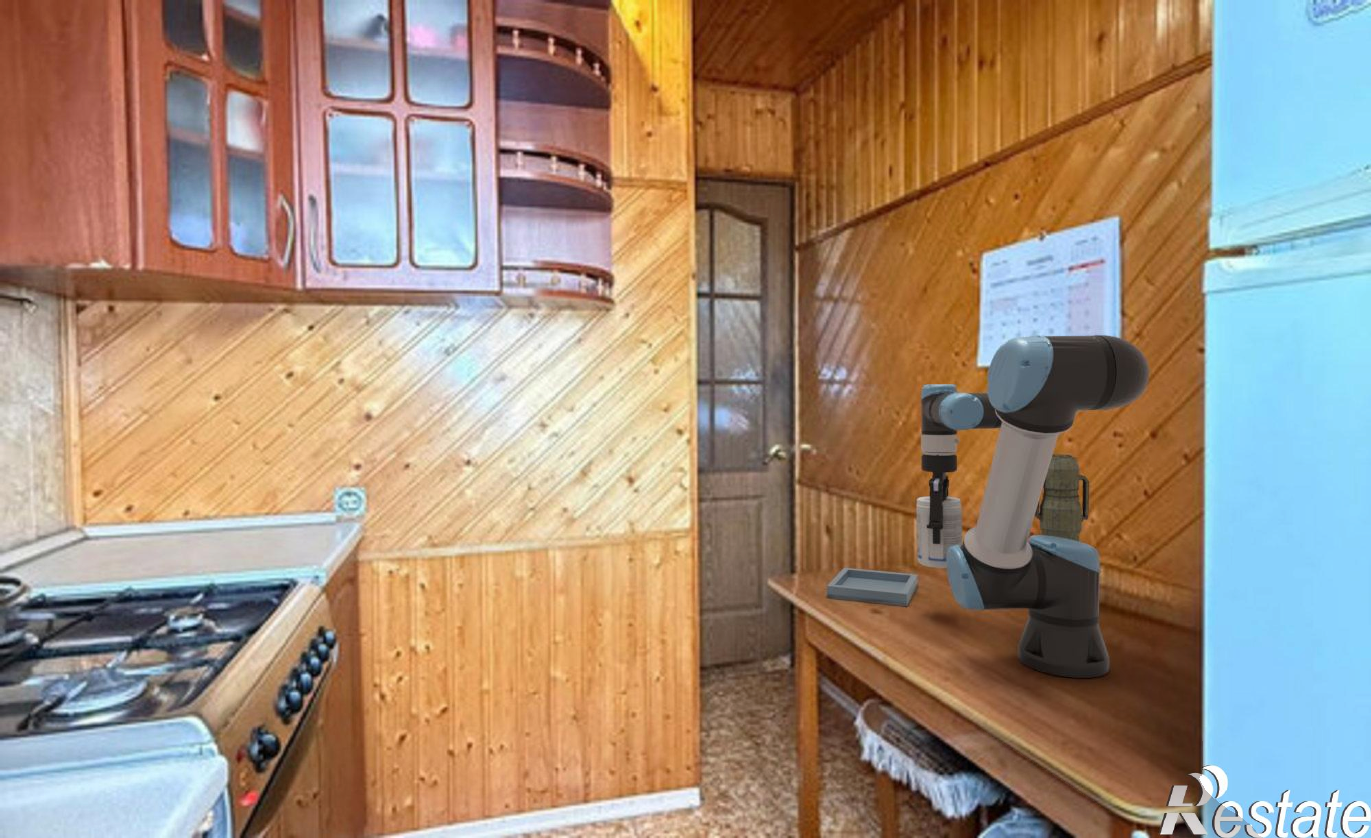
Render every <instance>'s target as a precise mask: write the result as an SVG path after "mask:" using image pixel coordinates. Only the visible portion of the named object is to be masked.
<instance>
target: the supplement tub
mask: <svg viewBox="0 0 1371 838" xmlns="http://www.w3.org/2000/svg"><path fill="white" fill-rule="evenodd" d="M961 501H962V500H961V499H960V498H958V497H955V496H954V497H953V496H952V497H951V496H948V497H946V500H944V501H943V502H942V505H943V528H942V529H944V558H943V559H935V558H930V529H929V528H927V525H929V516H930V496H921V497H918V498H917V499H916V505H915V506H916V547H917V549H916V551H917V557H916V558H917V561H918V563H919V565H922V566H924V567H927V568H938V569H947V562H946V559H947V551H948V549H949V548H950V547H952V546H955V545H958V546H962V545H963V522H962V521H963V516H962V515H963V512H962V510H963V509H962V503H961ZM934 522H939V521H934Z"/></svg>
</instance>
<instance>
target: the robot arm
mask: <svg viewBox="0 0 1371 838" xmlns="http://www.w3.org/2000/svg"><path fill="white" fill-rule="evenodd" d="M986 377H987V378H986V381H987V383H988V385H987V386H986V390H987V392H958V388H957V385H955V384H953V383H950V384H949V383H948V384H947V383H945V384H941V383H940V384H937V383H936V384H934V383H933V384H925V385H923V386H922V387H921V388H922V389H921V396H920V397H921V398H920V404H921V405H920V406H921V407H920V408H921V409H920V413H921V414H920V416H921V420H920V421H921V427H920V428H921V433H920V446H921V447H920V450H921V452H922V453H923V454H922V455H921V458H920V459H921V470H922V471H923V472H925V473H926V472H928V473H932V475H931V476H932V478H930V479H929V481H928V487H929V496H928V497H930V516H929V525H927V528H929V529H930V558H935V559H943V558H944V529H942V528H943V505H942V502H943V501H944V500H946V497H949V494H950V493H949V487H950V478H949V475H948V474H946V473H954V472H956V471H957V470H958V456H957V455H956V454H955V453H956V452H957V451H958V446H957V444H959V443H960V442H961V440H960V438H957V436H958V431H968V430H980V429H984V430H985V429H986V430H989V429H999V433H998V438H997V440H996V441H997V442H996V445H995V449H994V454H993V458H992V462H991V465H990V470H989V473H988V477H987V481H986V485H985V489H984V494H983V497H982V501H981V506H980V510H979V514H978V518H977V522H976V526H974V527H971V528H970V529H969V530H966V532H965V534H964V537H963V540H962V546H958V545H955V546H952V547H950V548H949V549H948V551H947V559H946V562H947V568H946V572H947V573H946V574H947V577H948V582H949V587H950V589H951V591H952V592H951V593H952V594H953V597H954V599H955V601H956V603H957V604H958V605H959V606H961V607H962V608H963V609H965V610H966V609H967V610H977V611H986V610H987V611H988V610H989V611H992V610H1025V609H1028V618H1027V621H1026V623H1025V626H1024V630H1023V632H1022V635H1021V637H1020V639H1019V642H1018V646H1017V647H1018V648H1017V657H1018V660H1019V662H1021V663H1022V664H1024V665H1025V666H1027V667H1029V668H1030V669H1034V670H1036V671H1038V672H1040V673H1046V674H1049V675H1054V676H1059V677H1065V678H1074V679H1075V678H1076V679H1088V678H1098V677H1101V676H1104V675H1106V674H1107V673H1109V671H1110V656H1109V652H1108V650H1107V647H1106V644H1105V640H1104V638H1103V635H1102V633H1101V629H1100V623H1099V622H1100V621H1099V619H1100V617H1099V616H1100V615H1099V614H1100V574H1101V573H1102V572H1101V566H1100V565H1101V563H1100V556H1099V552H1098V550H1097V549H1096V548H1095V547H1094V546H1093V545H1090V544H1088V543H1085V542H1081V541H1080V540H1079V541H1075V540H1070V539H1066V538H1060V537H1054V536H1046V535H1042V534H1036V535H1030V532H1031V529H1032V526H1033V521H1034V519H1035V516H1034V515H1035V512H1036V509H1037V505H1038V502H1039V503H1040V498H1041V495H1042V493H1043V492H1042V491H1043V489H1044V488H1043V485H1044V482H1045V478H1046V475H1047V472H1048V468H1049V465H1050V461H1051V458H1052V455H1054V451H1055V448H1056V444H1057V440H1058V437H1059V435H1061V434H1064V433H1066V432H1068V431H1069V430H1071V428H1072V427H1073V425H1074V421H1075V418H1076V414H1077V413H1078V412H1081V411H1108V410H1113V409H1118V408H1121V407H1126V406H1129V405H1131V404H1132V403H1134V402H1135V401H1136V400H1138V399H1139V398H1140V397H1141V396H1142V395H1143V394H1144V392H1145V391H1146V389H1147V387H1148V384H1149V380H1150V367H1149V364H1148V360H1147V358H1146V356H1145V355H1144V353H1143V352H1142V351H1141V350H1140V349H1139V348H1138V347H1136V345H1134V344H1132V343H1131V342H1130V341H1128V340H1126V339H1123V338H1121V337H1118V336H1112V335H1103V334H1101V335H1100V334H1099V335H1098V334H1096V335H1045V336H1044V335H1041V334H1033V335H1029V336H1022V337H1021V336H1020V337H1019V336H1018V337H1013V338H1010V339H1008V340H1007V341H1005V342H1004V343H1002V344H1001V345H1000V346H999V348H998V349H997V350H996V351H995V353H994V355H993V356H992V359H991V361H990V365H989V368H988V371H987V376H986ZM934 521H939V522H934ZM1029 535H1030V537H1029ZM1028 538H1029V539H1028Z"/></svg>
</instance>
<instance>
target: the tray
mask: <svg viewBox="0 0 1371 838" xmlns="http://www.w3.org/2000/svg"><path fill="white" fill-rule="evenodd" d="M918 577H919V575H918V574H915V573H903V572H894V571H885V570H884V571H882V570H871V569H863V568H862V569H861V568H851V567H850V568H849V567H843V568H842V570H840V571H839V572H838V574H836V576H835V577H834V578H832V580H831V581H830V582H829V583H828V584H827V585H826V598H827V599H834V600H835V599H836V600H842V601H851V602H852V601H853V602H860V603H861V602H862V603H869V604H879V605H887V606H896V607H897V606H898V607H905V606H906V607H909V606H908V605H909V604H910V602H911V600H912V598H913V596H914V594H915V592H916V590H917V588H918V585H919V584H918V583H919V581H918V579H919V578H918Z"/></svg>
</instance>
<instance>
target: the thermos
mask: <svg viewBox="0 0 1371 838" xmlns="http://www.w3.org/2000/svg"><path fill="white" fill-rule="evenodd" d="M1077 460H1078V459H1077V458H1076V456H1073V455H1071V454H1053V455H1052V458H1051V461H1050V465H1049V468H1048V472H1047V475H1046V478H1045V482H1044V485H1043V488H1042V489H1043V492H1042V498H1041V502H1040V501H1039V502H1038V505H1037V509H1036V512H1035V515H1034V518H1036V519H1037V520H1039V528H1040V531H1041V535H1046V536H1054V537H1060V538H1066V539H1070V540H1075V541H1079V542H1080V533H1081V532H1082V530H1083V529H1082V527H1083V526H1082V525H1083V524H1082V523H1083V522H1084V521H1085V520H1089V512H1090V511H1089V509H1090V481H1089V480H1088V478H1087V477H1086V476H1085V475H1081V474H1080V467H1079V464H1078V461H1077ZM1080 481H1082V506H1081V502H1080V495H1079V490H1080Z"/></svg>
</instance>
